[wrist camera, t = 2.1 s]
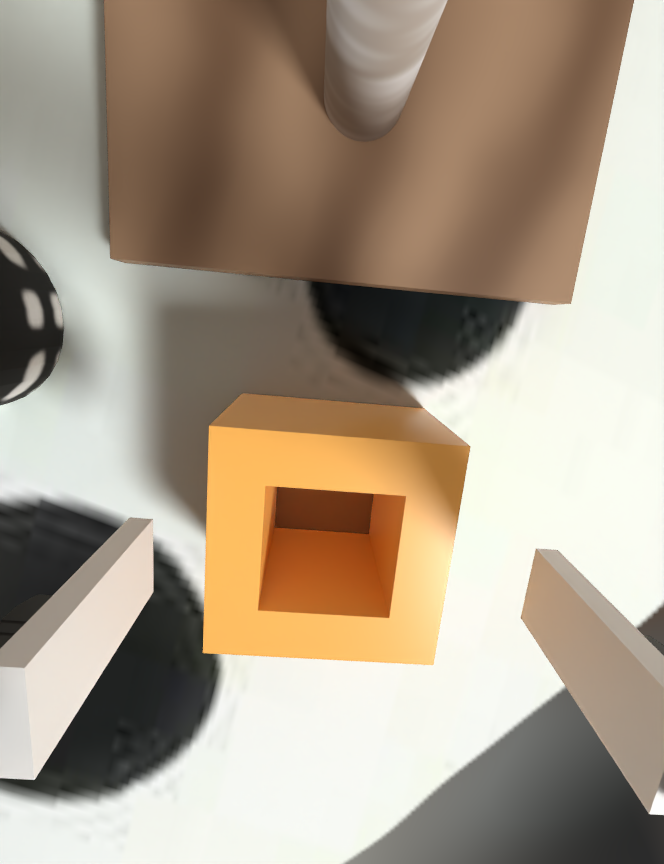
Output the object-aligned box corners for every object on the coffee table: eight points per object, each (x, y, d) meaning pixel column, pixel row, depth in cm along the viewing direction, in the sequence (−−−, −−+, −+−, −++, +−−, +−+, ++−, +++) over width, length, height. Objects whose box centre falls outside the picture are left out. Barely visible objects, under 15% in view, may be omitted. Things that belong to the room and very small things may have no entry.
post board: (125, 262, 20) (-86, 199, 10) (118, -128, 17) (-215, -879, 6) (553, 304, 21) (788, 288, 11) (625, -56, 18) (1068, -594, 7)
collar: (235, 559, 24) (202, 652, 17) (242, 393, 22) (209, 425, 15) (401, 569, 25) (433, 665, 18) (423, 408, 22) (470, 446, 16)
